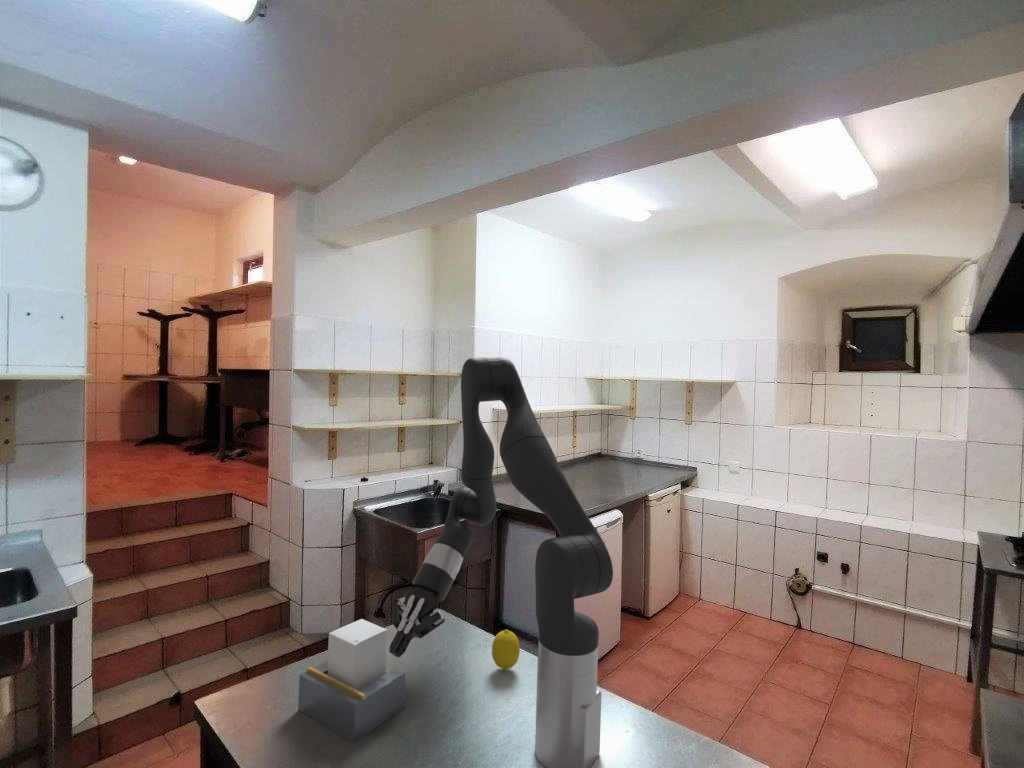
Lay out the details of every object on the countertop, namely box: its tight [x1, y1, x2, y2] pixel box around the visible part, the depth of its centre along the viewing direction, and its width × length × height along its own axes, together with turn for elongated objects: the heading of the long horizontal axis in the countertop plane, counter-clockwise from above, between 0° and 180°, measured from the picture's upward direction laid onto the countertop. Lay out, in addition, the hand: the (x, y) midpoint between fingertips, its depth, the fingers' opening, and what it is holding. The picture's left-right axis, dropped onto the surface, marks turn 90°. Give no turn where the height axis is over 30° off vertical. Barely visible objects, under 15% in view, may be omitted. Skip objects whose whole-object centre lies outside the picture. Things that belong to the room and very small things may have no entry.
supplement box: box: [327, 618, 388, 690], centre depth 88 cm, size 7×7×13 cm
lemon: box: [491, 629, 521, 672], centre depth 100 cm, size 6×6×8 cm
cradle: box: [297, 659, 407, 744], centre depth 86 cm, size 14×11×7 cm
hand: (394, 654), depth 95 cm, fingers closed
